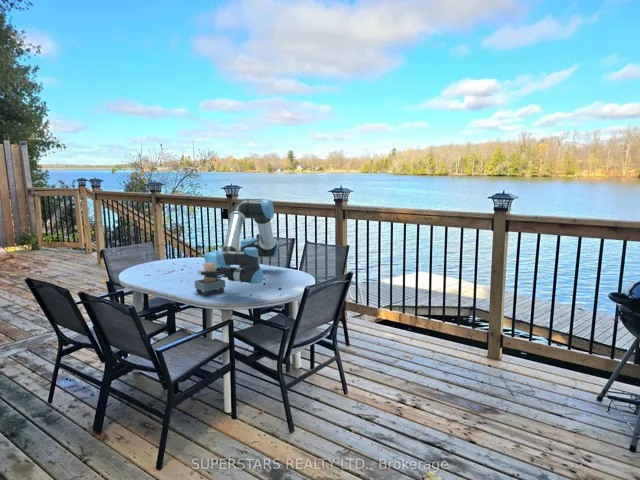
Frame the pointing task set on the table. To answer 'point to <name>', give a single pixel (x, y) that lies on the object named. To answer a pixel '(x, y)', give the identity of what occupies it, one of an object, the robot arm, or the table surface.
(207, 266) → the canister
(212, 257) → the teakettle
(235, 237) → the robot arm
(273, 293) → the table surface
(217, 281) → the caster cart
